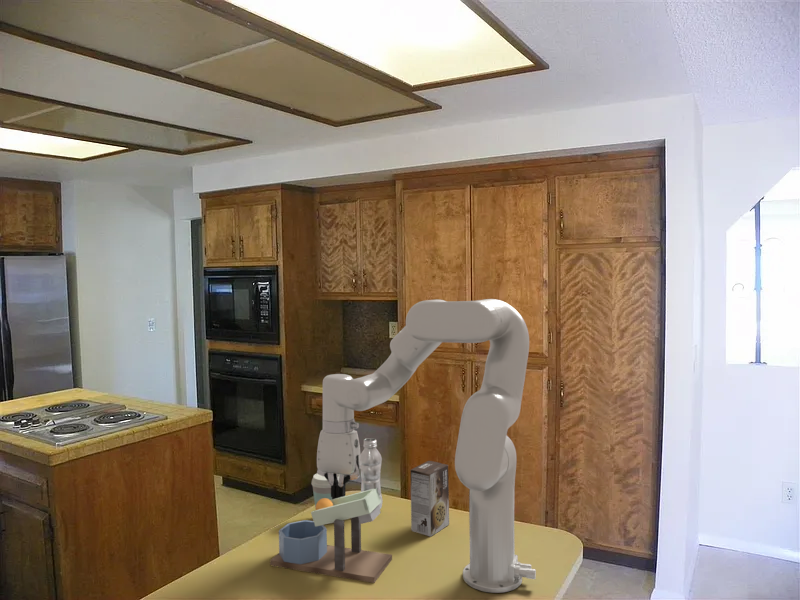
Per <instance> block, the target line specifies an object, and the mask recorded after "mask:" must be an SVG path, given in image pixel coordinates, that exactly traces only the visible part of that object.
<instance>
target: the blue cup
mask: <svg viewBox="0 0 800 600" xmlns="http://www.w3.org/2000/svg"><path fill="white" fill-rule="evenodd" d="M327 531H328V529H327V527H326V526H325V524H324V525H320V526H316V527H315V524H314V521H313V520H309V519H308V520H307V519H306V520H304V519H303V520H299V521H294V522H288V523H287V524H286V525H284V526H283V527H281V528H280V529H279V530H278V553H279V554H280V556H281V558H282V559H283V561H284V562H289V563H295V564H304V563H309V562H313V561H318V560H319V559H321V558H322V557H323V556H324V555H325V554H326V553H327V545H328V537H327V536H328V534H327V533H328V532H327Z"/></svg>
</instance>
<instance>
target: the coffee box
mask: <svg viewBox="0 0 800 600" xmlns="http://www.w3.org/2000/svg"><path fill="white" fill-rule="evenodd" d="M449 488H450V486H449V464H445V463H441V462H438V461H433V460H428V461H425V462H423V463H421V464H420V465H417V466H416V467H413V468H412V469H410V511H411V512H410V514H411V516H410V517H411V518H410V521H411V526H410V527H411V532H414V533H416V534H417V533H418V534H420V535H425V536H427V537H433V536H434V535H436V534H437V533H438V532H440V531H442V530H443V529H444V528H446V527H447V526H448V525H450V498H449V497H450V496H449V490H450V489H449Z"/></svg>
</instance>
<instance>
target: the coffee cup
mask: <svg viewBox="0 0 800 600" xmlns="http://www.w3.org/2000/svg"><path fill="white" fill-rule="evenodd" d="M337 475H338V482H339V475H340V474H337ZM310 484H311V486H312V491H313V500H314V507H315V509H316V504H317V502H318V501H319V500H320V499H322V498H327V499H329V500H332V497H331V485H329V482H328V480H327V479H326V478H325V477H324V476H321V475H319V474H317V473H315V474H313V477H312V479H311V483H310ZM332 524H334V522H333V523H332Z"/></svg>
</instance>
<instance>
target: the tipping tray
mask: <svg viewBox="0 0 800 600" xmlns="http://www.w3.org/2000/svg"><path fill="white" fill-rule="evenodd" d="M331 502H332V503H333V506H331V507H327V508H323V509H319V510H316V509H315V510H312V511H311V512H310V514H311V517H312V521H314V524H315V527H316V526H320V525H324V526H325V525H327V524H334V523H333V522H334V521H335V520H336V519H338V520H344V521H345V520H349V519H351V518H353V517H358V518H359V521H360V524H361V525H362V524H366V523H371V522H373V521H374V520H375V519H376V518H377V517H378V516H379V515H380V514H381V513H382V512H381V509H379V506H378V505H379V504H380V503H381V499H380V496H379V493H378V490H377V488H375V489H371V490H367V491H363V492H361V491H359V492H356V493H352V494H348V495H345V496H343V497H339V498H336V499H332V500H331Z"/></svg>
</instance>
